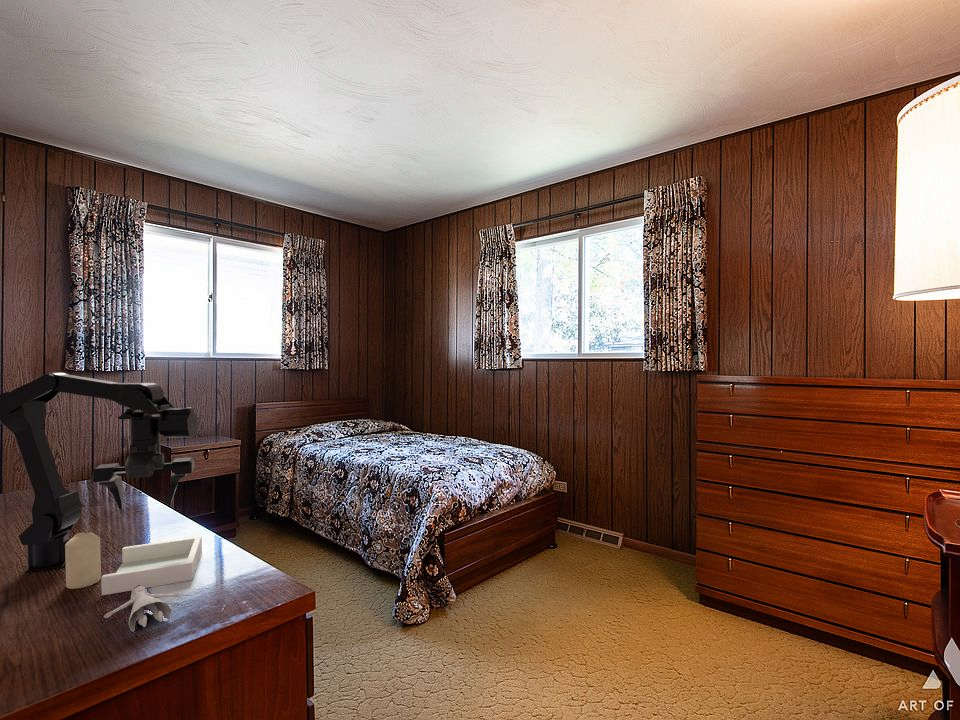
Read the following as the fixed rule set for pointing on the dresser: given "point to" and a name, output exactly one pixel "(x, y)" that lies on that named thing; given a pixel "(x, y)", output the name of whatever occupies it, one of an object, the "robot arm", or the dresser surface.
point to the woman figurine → (145, 606)
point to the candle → (82, 560)
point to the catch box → (154, 565)
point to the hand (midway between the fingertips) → (146, 506)
